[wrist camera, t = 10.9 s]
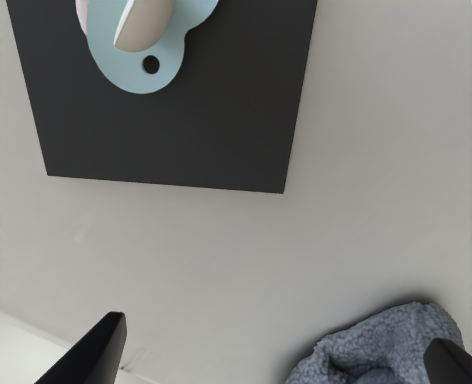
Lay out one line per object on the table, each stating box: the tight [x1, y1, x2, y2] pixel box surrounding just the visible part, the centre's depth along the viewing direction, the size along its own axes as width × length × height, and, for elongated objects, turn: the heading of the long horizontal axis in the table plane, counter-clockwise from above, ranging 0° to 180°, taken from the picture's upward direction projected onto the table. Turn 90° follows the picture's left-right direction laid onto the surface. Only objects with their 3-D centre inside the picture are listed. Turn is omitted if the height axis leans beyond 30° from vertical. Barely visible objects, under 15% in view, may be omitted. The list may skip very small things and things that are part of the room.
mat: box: [6, 0, 317, 194], centre depth 15 cm, size 15×20×1 cm
